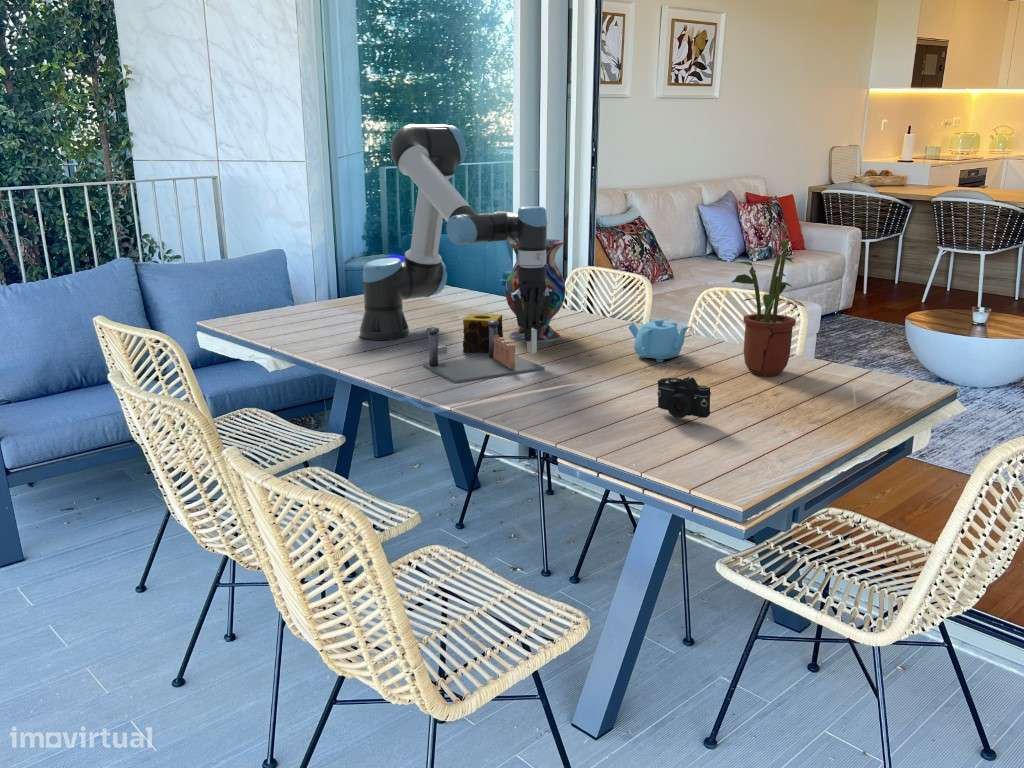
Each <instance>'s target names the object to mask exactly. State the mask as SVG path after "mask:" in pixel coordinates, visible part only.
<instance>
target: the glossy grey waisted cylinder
mask: <svg viewBox="0 0 1024 768" xmlns="http://www.w3.org/2000/svg"><path fill="white" fill-rule="evenodd" d="M487 325H489V354H488V355H489V358H493V353H494V342H493V337H494V335H498V332H497V325H499V321H496V320H490V321H487Z"/></svg>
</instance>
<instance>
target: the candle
mask: <svg viewBox="0 0 1024 768" xmlns="http://www.w3.org/2000/svg"><path fill="white" fill-rule="evenodd" d="M490 320H496V321H499V325H497V332H498V335H499V337H500V338H504V333H503V331H504V330H503V314H495V313H470V314H469V315H468V316H466V317H465V318H463V319H462V324H463V331H462V332H463V342H462V352H463V353H469V354H487V355H489V325H487V321H490Z"/></svg>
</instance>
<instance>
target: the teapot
mask: <svg viewBox="0 0 1024 768" xmlns="http://www.w3.org/2000/svg"><path fill="white" fill-rule="evenodd" d="M664 321H665V320H664V319H661V318H656V319H654V320H653V321H651V322H647V323H643V324H642V325H641V326H640V328H638V327H637V325H636V324H635V323H633V324H632V323H631V324H630V325H629V326H627V327H628V330H629V331H630V333H631V334H632V335H633V338H635V339H634V344H633V349H634V352H635V353H636V354H637V355H638V356H640V357H641V358H640V359H642V358H647V359H648V358H650V359H655V362H656V361H657V363H664V362H665V361H664V360H668V359H672V358H675V357H677V356H678V355H679V354H680V353H681V352H682V347H683V345H684V344H685V338H686V337H685V336H686V332H687V330H689V329H690V328H691V326H684V327H682V328H681V329H680V331H679V330H678V322H671V323H666V322H664ZM663 361H664V362H663Z"/></svg>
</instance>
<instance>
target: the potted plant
mask: <svg viewBox="0 0 1024 768" xmlns="http://www.w3.org/2000/svg"><path fill="white" fill-rule="evenodd" d="M780 245H781V247H782V252H781V256H780V254H777V256H776V258H775V262H774V266H773V269H772V275H771V279H770V285H769V290H768V294H767V293H764V294H763V297H762V299H761V294H760V288H759V283H758V276H757V272H756V271H757V270H755V268H754V266H753V263H752V262H751V261H747V260H746V261H745V260H743V261H738V262H737V264H743V265H748V266H751V267H750V269H749V270H748V272H749V274H750V275H748V274H738V275H736V277H735V278H734V279H733V280H732V281H730V283H731V284H733V283H739V284H744V285H746V284H747V285H752V284H753V287H754V293H755V294H754V295H755V298H754V297H753V298H745V299H744V300H743V301H742V302H745V301H749V300H755V301H756V313H752V314H750V313H749V314H746V315H744V316H743V317H742V318H743V320H742V321H743V324H745V326H744V338H743V339H744V340H743V341H744V342H743V358H744V364H745V366H746V367H747V369H748V371H750V373H751V374H753V373H754V374H753V375H756V374H757V375H756V376H760V375H761V377H774V376H775V375H776V376H778V375H779V374H782V373H783V371H784V370H785V368H787V366H788V362H789V359H790V356H791V348H792V339H793V338H792V337H793V327H794V326H796V324H797V319H796V318H794V317H793V316H788V315H784V314H778V309H779V300H780V296H781V295H782V293H783V291H784V290H785V289H786V288H787V286H789V287H791V288H793V286H792V285H791V284H790V283H789V282H785V281H783V277H785V278H787V276H786V275H785V273H784V272H785V271H784V270H785V264H786V260H787V261H788V262H791V263H794V261H793V260H796V258H795V257H788V256H787V252H788V246H789V245H790V240H789V241H788V240H781V241H780ZM778 269H779V270H778ZM761 300H762V301H763V305H764V308H765V309H764V313H762V303H761ZM772 310H773V311H772ZM776 376H775V377H776Z"/></svg>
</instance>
